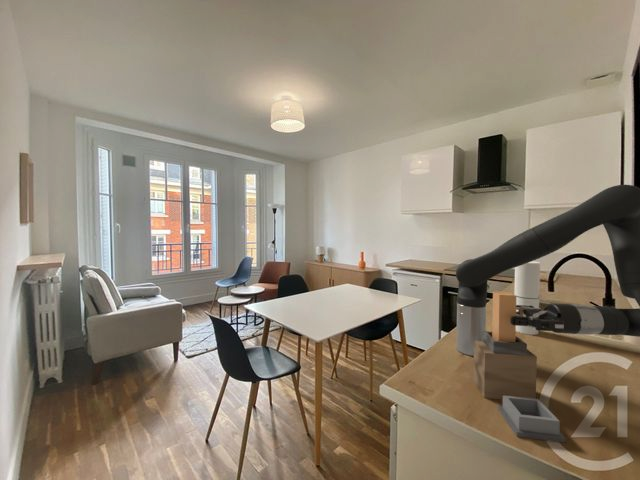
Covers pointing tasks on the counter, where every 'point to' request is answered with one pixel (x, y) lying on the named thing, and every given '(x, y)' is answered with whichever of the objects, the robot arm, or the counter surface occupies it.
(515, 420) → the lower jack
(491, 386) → the square socket base
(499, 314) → the plug
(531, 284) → the container
